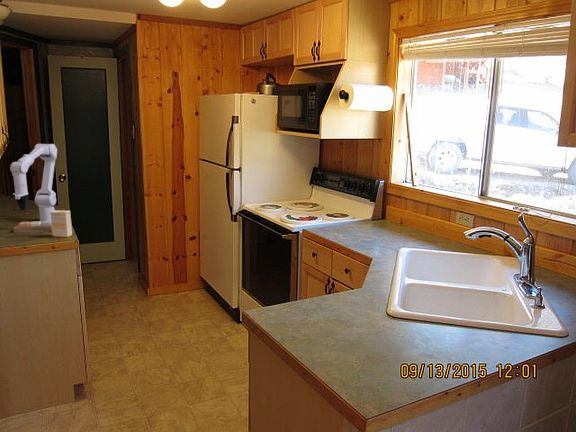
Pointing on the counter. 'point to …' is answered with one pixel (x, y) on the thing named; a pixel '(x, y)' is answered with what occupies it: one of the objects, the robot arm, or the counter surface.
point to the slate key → (46, 223)
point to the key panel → (33, 228)
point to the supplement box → (61, 223)
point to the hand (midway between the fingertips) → (23, 210)
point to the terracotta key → (24, 224)
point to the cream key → (35, 223)
